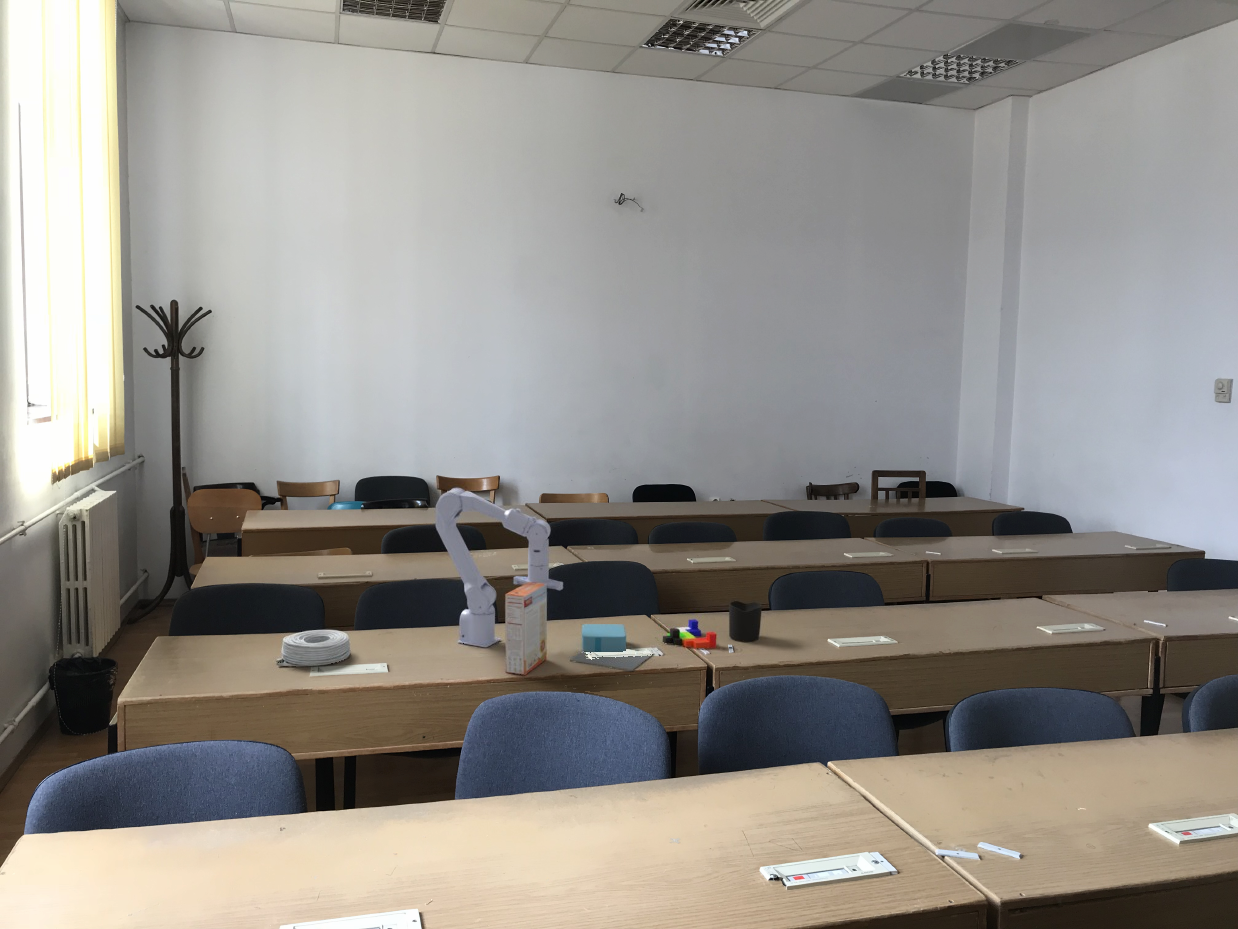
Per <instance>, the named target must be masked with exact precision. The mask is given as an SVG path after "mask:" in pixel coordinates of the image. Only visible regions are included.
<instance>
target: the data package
mask: <svg viewBox="0 0 1238 929" xmlns="http://www.w3.org/2000/svg"><path fill="white" fill-rule="evenodd" d="M581 647H582V648H581V650H582V651H584V652H623V651H626V648H627V633H626V627H625V625H624V624H620V623H619V624H617V623H616V624H613V623H612V624H611V623H610V624H609V623H607V624H606V623H603V624H602V623H585V624H582V625H581Z"/></svg>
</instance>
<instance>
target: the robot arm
mask: <svg viewBox="0 0 1238 929" xmlns="http://www.w3.org/2000/svg"><path fill="white" fill-rule="evenodd" d="M435 509H436V515H435V528H436V531H437V533H438V535H439V537H440V539H441V541H442V543H443V545H444V547H445V548H446V550H447V552H448V555H449V557H450V558H451V560H452V563H453V564H454V567H455V569H456V570H457V573H458V574H459V576H460V579H461V580H462V583H463V585H464V593H465V596H466V599H467V600H466V603H467V604H466V605H467V607H468V609H467V608H465V609H464V610H462V612H461V614H460V616H459V624H458V625H459V639H458V640H457V643H458V644H463V643H464V645H469V646H475V647H482V648H488V647H490V646H492V645H494V644H495V643H498V642H499V641H501V640H502V638H500V637H495V636H496V635H495V634H496V633H495V631H496V630H495V628H496V627H495V626H496V624H495V622H496V620H495V619H496V617H495V616H496V610H495V607H494V605H493V604H494V603H495V601H496V600H497V592H496V590H495V588H494V587H493V586H491V584H489V582H488V580H487V579H486V577H484V576H483V575H482V574H481V573H480V571H479V569H478V566H477V565H476V562H475V561H474V559H473V557H472V555H471V553H470V550H469V549H468V547H467V545H466V543H465V541H464V539H463V537H462V535H461V533H460V531H459V529H458V527H457V523H458V520H459V517H460V514H462V513H465V512H472V511H476V512H478V513H481V514H483V515H486V516H488V517H491V518H492V519H495V520H497V521H500V522H501V524H502V526H503V528H505V529H507V530H509V531H511V532H513V533H516V534H517V535H520V536H522V537H526V539H527V540H528V549H527V551H528V552H527V555H528V556H527V576H521V575H516V576H514V577H513V585H521V586H522V585H524V584H526V583H527V582H535V583H544V584H547V594H548V593H549V591H550V589H552V590H556V591H561V590H563V589H564V582H563V581H560V580H559V581H558V580H555V579H552V578H549V576H550V575H549V572H550V571H549V564H550V563H549V562H550V558H549V557H550V547H549V546H550V545H549V540H550V539H549V538H548V537H550V535H551V526H550V524H549V523H548V522H547V521H546V520H544V519H542V518H538V517H536V516H530V515H528V514H525V513H524V512H522V509H520V508H516V509H515V508H510V509H507V510H506V509H505V508H502V507H500V506H499V505H496V504H494V502H491V501H489V500H487V499H485V498H483V497H481V496H480V495H477V494H475V493H473V492H471V491H469V490H466V491H465V489H463V488H460V487H453V488H451V490H448V491H447V492H444V493H443V494H441V495H440V496H439V498H438V500H437V502H436V505H435ZM537 518H538V519H537Z"/></svg>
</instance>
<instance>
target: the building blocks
mask: <svg viewBox="0 0 1238 929" xmlns="http://www.w3.org/2000/svg"><path fill="white" fill-rule="evenodd" d="M694 636H698V637H694ZM701 636H702V630H701V628H699V620H697V619H695V618H694V619H692V618H691V619H688V626H683V627H680V626H679V627H675V628H674V627H673V628H670V629H669V633H667V635H663V636H662V643H663V642H664V644H665V643H673V644H672V645H674V646H675V645H679V646H683V647H684V646H685V647H684V648H693V647H694V649H695V650H697V649H696V648H704V649H713V648H717V633H715V632H714V631H708V632H706V636H705V637H701Z"/></svg>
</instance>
